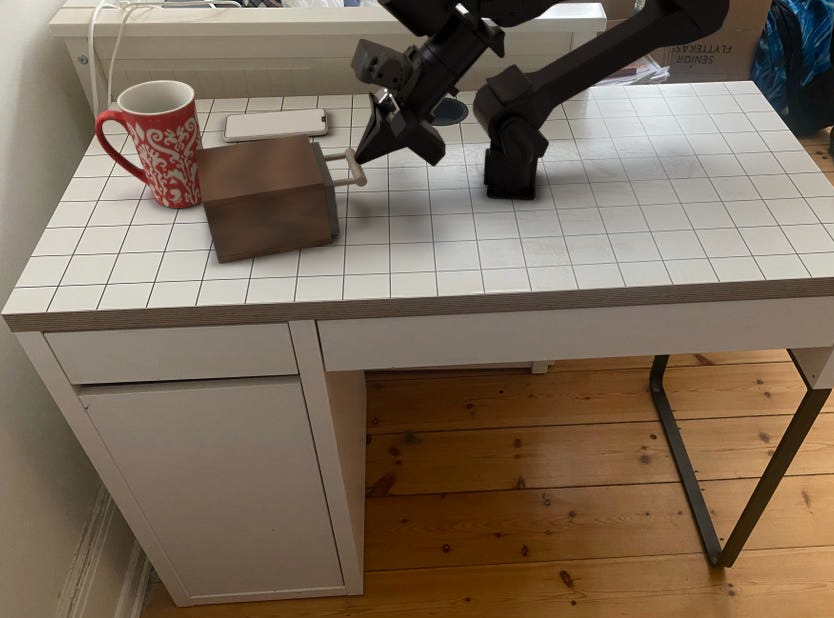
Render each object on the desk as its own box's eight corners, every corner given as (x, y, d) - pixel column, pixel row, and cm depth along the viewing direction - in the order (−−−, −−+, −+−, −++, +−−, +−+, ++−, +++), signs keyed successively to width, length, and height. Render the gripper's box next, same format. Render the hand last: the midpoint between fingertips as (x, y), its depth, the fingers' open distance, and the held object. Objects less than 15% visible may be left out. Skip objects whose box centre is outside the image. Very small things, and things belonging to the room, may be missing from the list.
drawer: (355, 183, 100) (351, 136, 95) (373, 227, 93) (369, 179, 88) (227, 203, 96) (216, 156, 91) (236, 250, 89) (224, 202, 84)
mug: (221, 172, 103) (198, 77, 93) (215, 210, 97) (190, 111, 87) (126, 178, 102) (93, 82, 92) (114, 217, 95) (77, 118, 86)
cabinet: (315, 193, 99) (307, 133, 93) (332, 243, 92) (324, 182, 86) (210, 210, 97) (195, 149, 91) (218, 263, 89) (201, 201, 83)
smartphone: (225, 114, 113) (325, 107, 115) (226, 118, 114) (326, 111, 115) (222, 139, 108) (327, 131, 109) (223, 143, 108) (328, 135, 110)
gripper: (372, -15, 87) (291, 89, 93) (414, 50, 74) (318, 166, 80) (438, 45, 94) (359, 138, 100) (486, 113, 82) (393, 215, 87)
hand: (356, 161), depth 92 cm, fingers closed, pressing on drawer
